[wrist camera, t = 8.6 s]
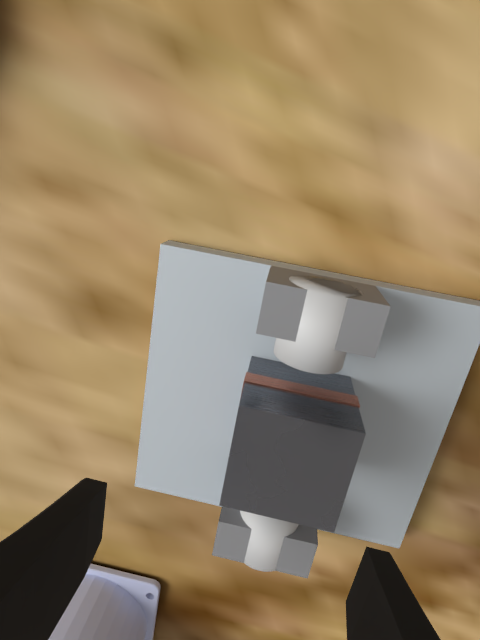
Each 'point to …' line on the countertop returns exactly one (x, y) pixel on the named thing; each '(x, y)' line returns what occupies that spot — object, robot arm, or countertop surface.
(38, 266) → the countertop surface
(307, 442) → the block
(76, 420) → the countertop surface
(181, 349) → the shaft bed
